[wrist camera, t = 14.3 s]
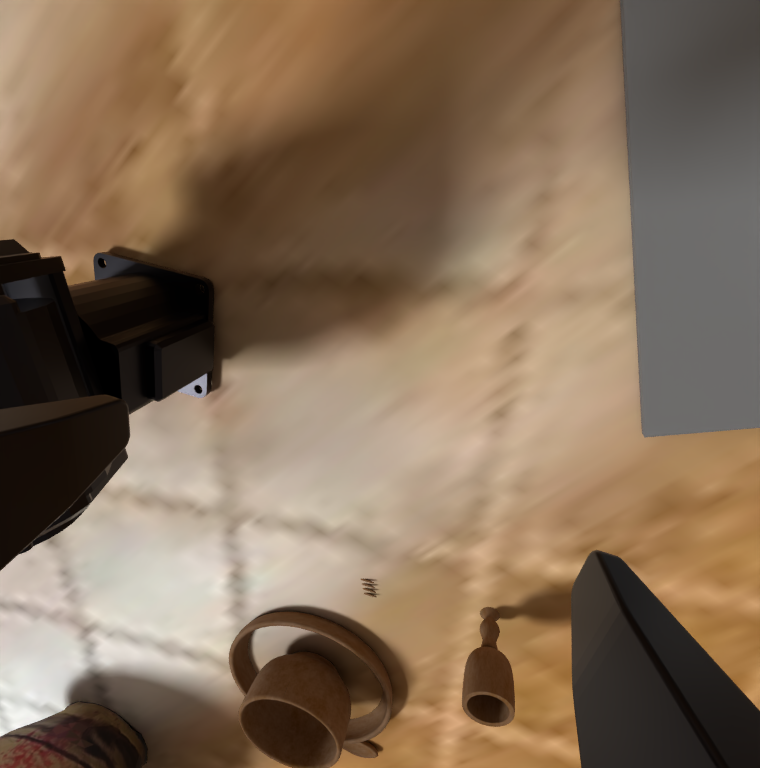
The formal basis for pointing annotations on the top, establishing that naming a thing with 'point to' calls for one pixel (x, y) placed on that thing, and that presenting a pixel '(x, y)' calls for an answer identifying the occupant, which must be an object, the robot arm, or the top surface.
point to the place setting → (345, 693)
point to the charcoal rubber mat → (695, 210)
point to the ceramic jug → (74, 741)
